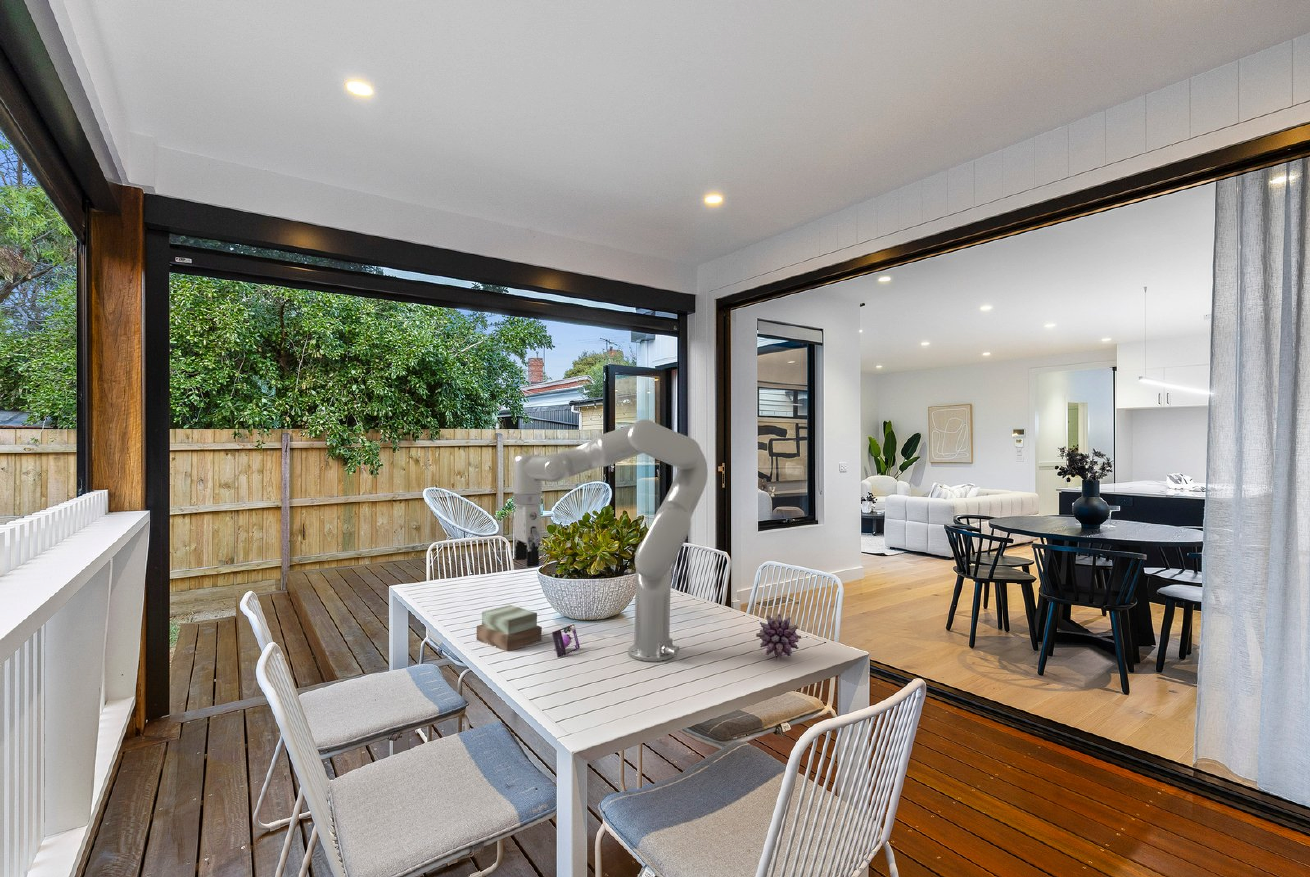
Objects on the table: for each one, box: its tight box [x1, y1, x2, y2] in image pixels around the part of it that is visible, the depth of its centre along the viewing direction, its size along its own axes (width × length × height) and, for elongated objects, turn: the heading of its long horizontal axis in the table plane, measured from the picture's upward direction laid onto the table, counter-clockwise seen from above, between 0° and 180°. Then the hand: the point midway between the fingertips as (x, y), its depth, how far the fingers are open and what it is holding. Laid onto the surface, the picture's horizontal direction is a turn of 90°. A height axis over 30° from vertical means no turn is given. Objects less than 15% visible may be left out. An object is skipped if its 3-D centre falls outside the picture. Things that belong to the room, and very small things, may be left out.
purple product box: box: [551, 623, 581, 658], centre depth 173 cm, size 7×5×9 cm
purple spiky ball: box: [755, 613, 802, 660], centre depth 171 cm, size 12×12×12 cm
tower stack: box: [476, 604, 543, 652], centre depth 180 cm, size 14×12×8 cm
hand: (526, 562), depth 172 cm, fingers open, 9 cm apart
